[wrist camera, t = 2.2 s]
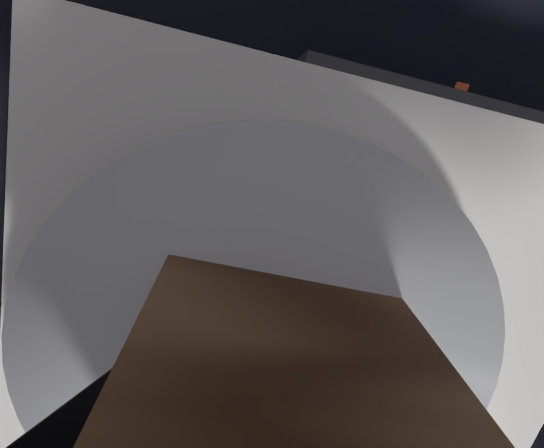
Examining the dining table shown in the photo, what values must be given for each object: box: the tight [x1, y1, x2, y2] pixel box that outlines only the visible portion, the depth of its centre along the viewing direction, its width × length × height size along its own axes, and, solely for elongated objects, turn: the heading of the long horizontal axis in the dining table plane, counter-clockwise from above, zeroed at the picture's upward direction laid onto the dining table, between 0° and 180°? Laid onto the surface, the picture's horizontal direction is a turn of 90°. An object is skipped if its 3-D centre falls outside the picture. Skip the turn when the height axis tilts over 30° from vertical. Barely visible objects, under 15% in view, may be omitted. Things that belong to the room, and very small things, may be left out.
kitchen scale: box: [0, 0, 544, 448], centre depth 10 cm, size 13×12×4 cm
